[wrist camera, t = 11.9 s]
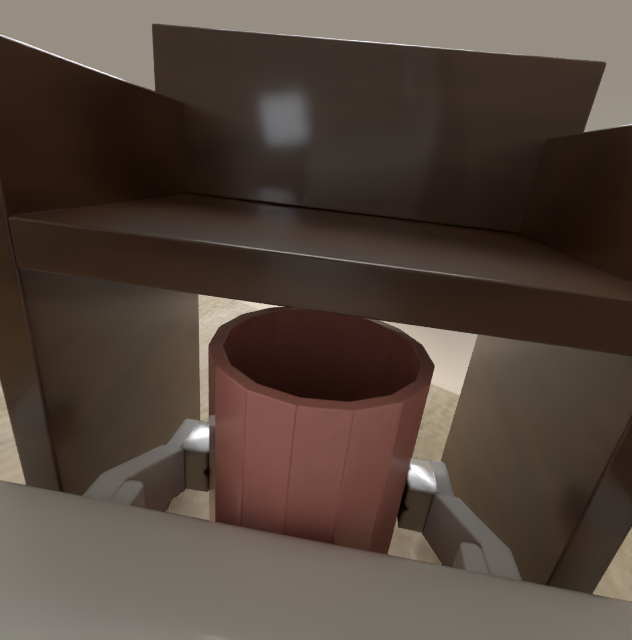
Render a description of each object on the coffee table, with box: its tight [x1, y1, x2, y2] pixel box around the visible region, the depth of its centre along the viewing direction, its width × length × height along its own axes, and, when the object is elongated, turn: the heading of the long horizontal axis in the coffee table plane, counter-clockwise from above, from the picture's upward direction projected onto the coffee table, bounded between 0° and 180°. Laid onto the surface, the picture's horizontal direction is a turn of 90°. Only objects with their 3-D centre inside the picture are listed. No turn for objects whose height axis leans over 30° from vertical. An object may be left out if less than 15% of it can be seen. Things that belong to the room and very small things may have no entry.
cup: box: [209, 307, 435, 555], centre depth 13 cm, size 7×7×10 cm
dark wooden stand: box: [0, 24, 632, 594], centre depth 14 cm, size 10×16×21 cm, turn 83°
